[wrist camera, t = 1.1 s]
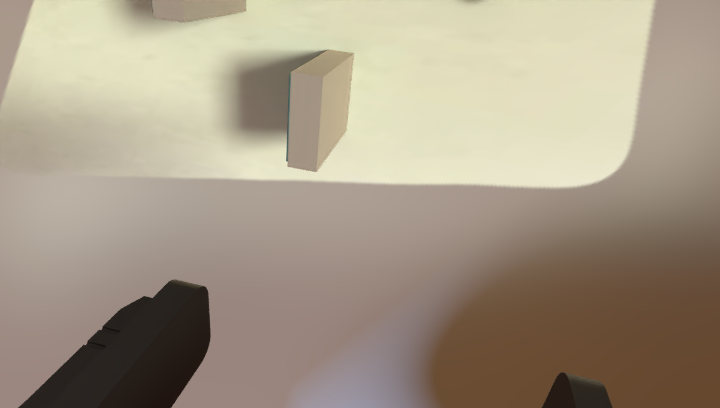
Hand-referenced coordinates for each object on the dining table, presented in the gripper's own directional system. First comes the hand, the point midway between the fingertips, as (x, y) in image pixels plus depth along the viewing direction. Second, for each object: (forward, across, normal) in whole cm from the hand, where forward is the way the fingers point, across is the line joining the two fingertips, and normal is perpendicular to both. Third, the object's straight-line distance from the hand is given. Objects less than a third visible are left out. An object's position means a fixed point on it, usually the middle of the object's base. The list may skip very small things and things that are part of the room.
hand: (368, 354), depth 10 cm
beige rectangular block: (+20, +6, 0) cm, 21 cm away
